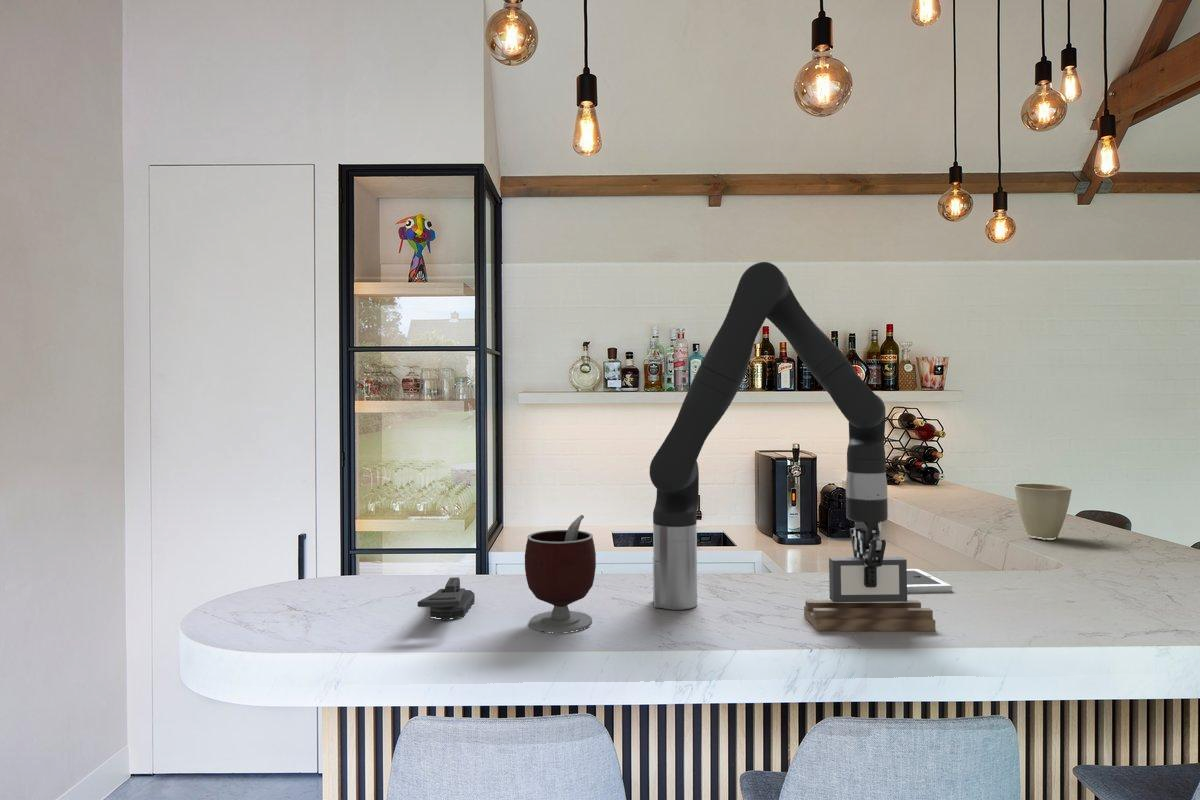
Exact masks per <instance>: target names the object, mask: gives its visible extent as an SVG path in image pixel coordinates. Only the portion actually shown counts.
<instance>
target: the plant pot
mask: <svg viewBox="0 0 1200 800" xmlns="http://www.w3.org/2000/svg"><path fill="white" fill-rule="evenodd" d="M1014 490H1015V497H1016V503H1017V508H1018V511H1019V514H1020V515H1019V516H1020V518H1021V521H1022V524H1023V525H1022V526H1023V527H1024V529H1025V532H1026V534H1028V535H1031V536H1036V537H1042V538H1055V537H1057V538H1058V537H1059V535H1060V532H1061V530H1062V527H1063V525H1064V521H1065V519H1066V515H1067V512H1068V510H1069V507H1070V506H1069V505H1070V501H1071V496H1072V487H1069V486H1063V485H1058V484H1057V485H1056V484H1048V483H1047V484H1046V483H1017V484H1014ZM1028 535H1027V536H1028Z"/></svg>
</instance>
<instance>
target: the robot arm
mask: <svg viewBox="0 0 1200 800" xmlns="http://www.w3.org/2000/svg"><path fill="white" fill-rule="evenodd" d="M766 319H767V320H768V321H770V322H771V323H772V324H773V325H774V327H776V328H777V329H778V331H779V332H780V333H781V334H782V335H783V336H784V337H785V338H786V340H787V342H788V343H789V344H790V345H791V347H792V349H793V350H794V352H795V353H796V354H797V356H798V357H799V359H800V361H801V362H802V364H803V365H804V366H805V367H806V369H808V371H809V372H810V374H811V375H812V376H813V377H814V379H815V380H816V381H817V382H818V384H819V385H820V386H821V387H822V388H823V389H824V390H825V391H826V392H827V393H828V394H829V396H830V398H831V399H832V400H833V402H834V404H835V405H836V407H837V408H838V410H839V411H840V412H841V413H842V415H843V417H844V418H846V419H845V420H847V421H848V440H849V442H848V445H847V449H846V480H845V515H846V519H848V520H849V521H853V522H855V523H854V528H850V529H849V535H850V540H851V546H852V553H853V557H863V565H864V585H865V586H866V587H876V586H877V568H878V566H882V561H883V557H885V550H886V545H887V543H886V539H882V535H881V534H882V533H881V531H880V525H879V524H880V523H884V522H886V521H887V520H888V518H889V514H888V510H889V509H888V508H889V507H888V505H889V504H888V481H887V475H886V474H887V473H886V471H887V470H886V469H887V468H886V459H887V458H886V450H885V449H886V448H885V436H886V434H885V433H886V405H885V403H884V400H883V399H882V398H881V397H880V396H879V395H877V394H876V393H875V392H874V391H873V390H872V389H871V388H870V387H869V385H867V383H866V382H865V381H864V380H863V379H862V377H861V376H859V375H858V373H857V370H856V369H855V367H854V366H853V364H852V363H851V362H850V360H849V359H848V358H847V356H846V355H844V353H843V352H842V351H841V350H840V349H839V347H838V346H837V345H836V344H835V343H834V342H833V340H831V339H830V337H829V336H828V335H827V334H826V333H825V332H824V331H823V330H822V329H821V328H820V327H819V326H818V325H817V324H816V323H815V322H814V321H813V319H811V317H810V316H809V314H807V313H806V311H805V309H804V308H803V307H802V305H801V303H800V302H799V301H798V299H797V297H796V295H795V293H794V292H793V290H792V289H791V287H790V285H789V282H788V279H787V276H786V275H785V274H784V272H783V271H782V270H781V269H780V268H779V267H778V266H777V265H776V264H774V263H772V262H769V261H759V262H756V263H754V264H753V263H752V265H750V266H749V267H748V268H747V269H745V271H744V272H743V273H742V275H741V277H740V279H739V282H738V283H737V287H736V289H735V292H734V295H733V297H732V300H731V303H730V306H729V309H728V311H727V314H726V315H725V318H724V320H723V321H722V322H723V323H722V324H721V326H720V328H719V329H718V331H717V333H716V334H715V336H714V338H713V340H712V342H711V344H710V346H709V348H708V349H707V352H706V353H705V356H704V357H703V359H702V361H701V363H700V364H699V367H698V369H697V371H696V373H695V375H694V377H693V379H692V381H691V384H690V386H689V388H688V390H687V393H686V396H685V398H684V399H683V402H682V404H681V407H680V409H679V412H678V414H677V417H676V420H675V421H674V423H673V425H672V428H671V429H670V431H669V432H668V434H667V435H666V437H665V439H664V440H663V442H662V444H661V445H660V447H659V448H658V449H657V451H656V453H655V454H654V456H653V457H652V459H651V461H650V465H649V477H650V481H651V482H652V483H651V484H653V485H652V486H654V487H655V489H656V499H655V504H654V505H655V506H654V507H653V512H652V529H653V530H652V534H653V535H652V537H653V538H652V540H653V541H652V542H653V543H652V545H653V546H652V547H653V550H652V551H653V556H652V601H653V606H654V608H656V609H657V608H658V609H659V608H660V609H665V610H674V611H675V610H679V611H680V610H689V609H693V608H695V607H697V605H698V545H697V544H698V538H697V536H698V535H697V533H698V532H697V531H698V530H697V528H698V527H697V526H698V525H697V524H698V523H697V521H698V520H697V516H698V509H699V499H700V498H699V494H700V493H699V490H700V489H699V487H700V485H699V483H700V482H699V481H700V479H699V477H700V474H699V473H700V472H699V463H698V461H697V460H698V458H699V455H700V453H701V452H702V448H703V447H704V445H705V442H706V440H707V438H708V437H709V435H710V434H711V432H712V431H713V430H714V428H715V427H716V425H717V424H718V423H719V422H720V420H721V419H722V417H723V416H724V414H725V413H726V412H727V410H728V409H729V407H730V405H731V404H732V402H733V400H734V399H735V396H737V395H736V394H737V393H738V391H739V389H740V387H741V384H742V383H743V381H744V379H745V377H746V374H747V371H748V368H749V363H750V360H751V356H752V353H753V348H754V345H755V341H756V339H757V337H758V334H759V332H760V330H761V328H762V326H763V324H764V323H765V320H766ZM872 559H873V560H872Z"/></svg>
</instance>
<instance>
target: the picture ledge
mask: <svg viewBox="0 0 1200 800" xmlns="http://www.w3.org/2000/svg"><path fill="white" fill-rule="evenodd" d="M804 602H805V606H803V616H805V617H806V618H805V617H804V618H805V619H806V621H808V623H809V622H810V623H811V624H812V625H811V624H810V623H809V624H810V625H811V627H812V628H813V629H816V630H815V631H816V632H936V619H934V618H933V617H934V615H933V613H934V612H933V609H931V608H930V607H922V602H921V601H919V600H916V599H913V600H912V599H909V600H908V599H907V602H833V601H832V600H831V599H829V600H826V599H825V600H820V599H819V600H816V599H815V600H814V599H813V600H811V599H809V600H806V599H805V601H804Z"/></svg>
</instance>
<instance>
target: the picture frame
mask: <svg viewBox="0 0 1200 800" xmlns="http://www.w3.org/2000/svg"><path fill="white" fill-rule="evenodd" d="M950 591H952V592H953V585H951V584H950V583H948V582H946V581H944V580H941V579H939V578H937V577H935V576H933V575H931V574H929V573H927V572H925V571H923V570H921V569H919V568H907V594H908V593H909V594H910V593H912V594H913V593H914V594H915V593H918V594H921V593H922V594H923V593H951V592H950Z"/></svg>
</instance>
